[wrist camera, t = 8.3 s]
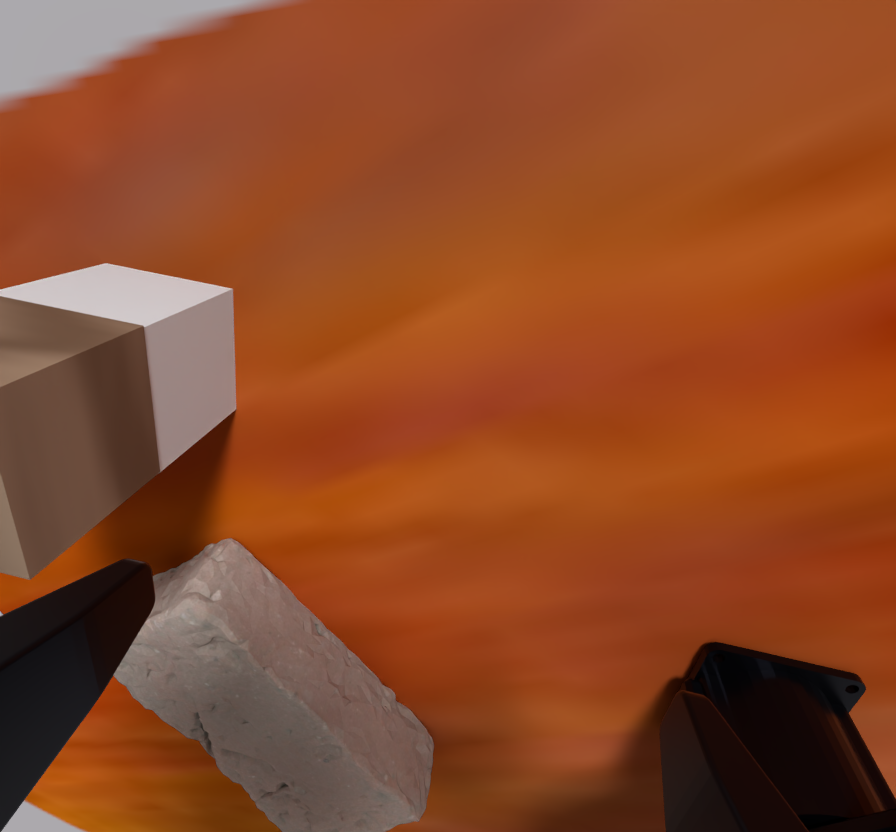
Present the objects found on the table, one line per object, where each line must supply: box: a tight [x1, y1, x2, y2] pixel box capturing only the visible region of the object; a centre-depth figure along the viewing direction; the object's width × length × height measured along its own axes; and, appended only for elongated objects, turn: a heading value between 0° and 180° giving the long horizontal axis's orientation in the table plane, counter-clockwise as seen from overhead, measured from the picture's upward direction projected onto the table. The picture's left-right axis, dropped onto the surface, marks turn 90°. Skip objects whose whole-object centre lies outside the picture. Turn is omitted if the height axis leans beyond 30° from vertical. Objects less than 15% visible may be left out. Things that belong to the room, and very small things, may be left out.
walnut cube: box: [0, 296, 160, 580], centre depth 14 cm, size 5×5×5 cm
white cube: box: [0, 263, 236, 472], centre depth 19 cm, size 5×5×5 cm
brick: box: [114, 538, 434, 832], centre depth 27 cm, size 17×8×5 cm, turn 36°
